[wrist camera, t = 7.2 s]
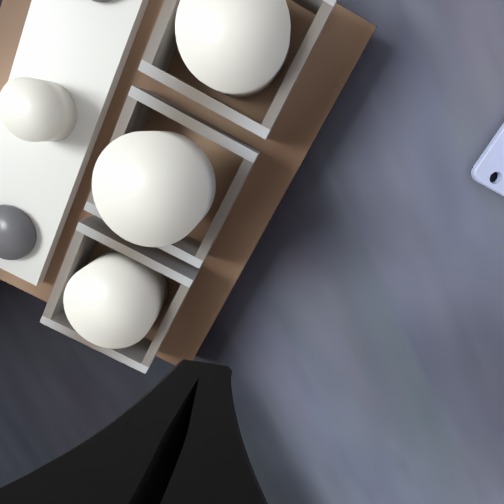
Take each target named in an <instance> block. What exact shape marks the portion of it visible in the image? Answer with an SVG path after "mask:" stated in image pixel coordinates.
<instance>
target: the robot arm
mask: <svg viewBox="0 0 504 504" xmlns="http://www.w3.org/2000/svg"><path fill="white" fill-rule="evenodd" d="M494 172H496V173H497V176H498V177H497V179H496V180H495V181H494V182H490V176H491V174H492V173H494ZM471 176H472V178H473V179H474V180H475V181H476V182H478V183H479V184H481V185H483V186H485V187H487V188H488V189H490V190H492V191H494V192H495V193H497V194H499V195H501V196H503V197H504V123H503V124H502V126H501V127H500V129H499V130H498V132H497V133H496V134H495V136H494V137H493V139H492V140H491V142H490V143H489V145H488V146H487V147H486V149H485V150H484V152H483V153H482V155H481V156H480V158H479V159H478V160H477V162H476V163H475V165H474V166H473V168H472V170H471ZM231 374H232V371H231V369H230V368H229V367H228V366H222V365H216V364H210V363H204V362H198V361H192V360H185V359H183V360H182V361H180V362H179V363H178V364H177V365H176V366H175V367H174V368H173V369H172V370H171V371H170V372H169V373H168V374H167V375H166V376H165V377H164V378H163V379H162V380H161V381H160V382H159V383H158V384H157V385H156V386H155V387H153V388H152V389H151V390H150V391H149V392H148V393H147V394H146V395H144V396H143V397H142V398H141V399H140V400H139V401H138V402H136V403H135V404H134V405H133V406H132V407H130V408H129V409H128V410H127V411H125V412H124V413H123V414H121V415H120V416H119V417H118V418H116V419H115V420H114V421H112V422H111V423H110V424H109V425H107V426H106V427H104V428H103V429H102V430H100V431H99V432H97V433H96V434H95V435H93V436H92V437H90V438H89V439H87V440H86V441H84V442H83V443H81V444H80V445H78V446H77V447H75V448H73V449H72V450H70V451H69V452H67V453H65V454H64V455H62V456H60V457H58V458H57V459H55V460H53V461H51V462H49V463H48V464H46V465H44V466H42V467H41V468H39V469H37V470H35V471H33V472H32V473H30V474H28V475H26V476H24V477H22V478H20V479H18V480H16V481H14V482H12V483H10V484H8V485H6V486H4V487H2V488H0V504H268V503H267V501H266V499H265V497H264V494H263V492H262V490H261V488H260V486H259V483H258V481H257V479H256V476H255V474H254V471H253V469H252V466H251V464H250V461H249V458H248V455H247V452H246V449H245V446H244V443H243V440H242V437H241V433H240V430H239V426H238V422H237V417H236V413H235V409H234V403H233V397H232V390H231Z"/></svg>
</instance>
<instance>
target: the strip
mask: <svg viewBox="0 0 504 504" xmlns="http://www.w3.org/2000/svg"><path fill="white" fill-rule="evenodd" d="M148 2H149V0H32V1H31V4H30V8H29V11H28V15H27V18H26V21H25V25H24V28H23V32H22V35H21V38H20V42H19V45H18V49H17V52H16V56H15V59H14V62H13V66H12V69H11V73H10V76H9V80H8V82H7V83H6V84H5V85H4V87H3V88H2V90H1V92H0V268H1V269H3V270H5V271H7V272H9V273H11V274H13V275H15V276H17V277H19V278H21V279H23V280H25V281H27V282H29V283H31V284H33V285H35V286H37V285H38V284H40V283H42V282H43V281H44V278H45V275H46V273H47V270H48V267H49V265H50V262H51V259H52V257H53V254H54V251H55V249H56V246H57V244H58V241H59V238H60V236H61V233H62V230H63V228H64V225H65V222H66V220H67V217H68V214H69V212H70V209H71V206H72V204H73V201H74V198H75V196H76V193H77V190H78V188H79V185H80V182H81V180H82V177H83V175H84V172H85V169H86V167H87V164H88V161H89V159H90V156H91V153H92V151H93V148H94V145H95V143H96V140H97V137H98V135H99V132H100V129H101V127H102V124H103V121H104V119H105V116H106V113H107V111H108V108H109V106H110V103H111V100H112V98H113V95H114V92H115V90H116V87H117V84H118V82H119V79H120V76H121V74H122V71H123V68H124V66H125V63H126V60H127V58H128V55H129V52H130V50H131V47H132V44H133V42H134V39H135V37H136V34H137V31H138V29H139V26H140V23H141V21H142V18H143V15H144V13H145V10H146V7H147V5H148Z"/></svg>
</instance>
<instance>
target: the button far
mask: <svg viewBox="0 0 504 504" xmlns="http://www.w3.org/2000/svg"><path fill="white" fill-rule="evenodd" d="M167 297H168V287H167V282H166V279H165V277H164V275H163V274H161V273H159V272H157V271H155V270H153V269H151V268H149V267H147V266H145V265H144V264H142V263H140V262H138V261H136V260H134V259H132V258H130V257H128V256H126V255H124V254H122V253H120V252H118V251H116V250H111V251H108V252H106V253H104V254H102V255H101V256H99V257H98V258H96V259H95V260H94V261H92V262H91V263H89V264H88V265H86V266H85V267H83V268H82V269H81V270H79V271H78V272H77V273H75V274H74V275H73V276H72V277H71V279H70V280H69V281H68V283H67V285H66V288H65V291H64V296H63V304H64V310H65V314H66V316H67V319H68V320H69V322H70V324H71V325H72V327H73V328H74V329H75V331H76V332H77V333H78V334H79V335H81V336H82V337H83V338H84V339H86V340H87V341H89V342H91V343H93V344H95V345H97V346H100V347H104V348H111V349H119V348H126V347H129V346H132V345H134V344H136V343H137V342H139V341H140V340H141V339H142V338H144V337H145V335H146V334H147V333H148V331H149V330H150V328H151V327H152V325H153V324H154V322H155V321H156V319H157V318H158V316H159V315H160V313H161V312H162V310H163V309H164V307H165V304H166V302H167Z"/></svg>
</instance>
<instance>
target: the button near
mask: <svg viewBox="0 0 504 504" xmlns="http://www.w3.org/2000/svg"><path fill="white" fill-rule="evenodd" d="M290 30H291V24H290V15H289V9H288V6H287V3H286V0H180V2H179V5H178V8H177V13H176V19H175V35H176V42H177V46H178V50H179V52H180V55H181V57H182V59H183V61H184V63H185V65H186V66H187V68H188V69H189V70H190V72H191V73H192V74H193V75H194V76H195V77H196V78H197V79H198V80H200V81H201V82H202V83H204V84H205V85H207V86H209V87H210V88H212V89H214V90H216V91H218V92H220V93H222V94H225V95H228V96H233V97H245V96H250V95H254V94H257V93H259V92H261V91H263V90H264V89H266V88H267V87H268V86H270V85H271V84H272V83H273V82H274V81H275V80H276V79H277V77H278V76H279V75H280V73H281V71H282V70H283V68H284V65H285V63H286V60H287V57H288V53H289V46H290Z"/></svg>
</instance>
